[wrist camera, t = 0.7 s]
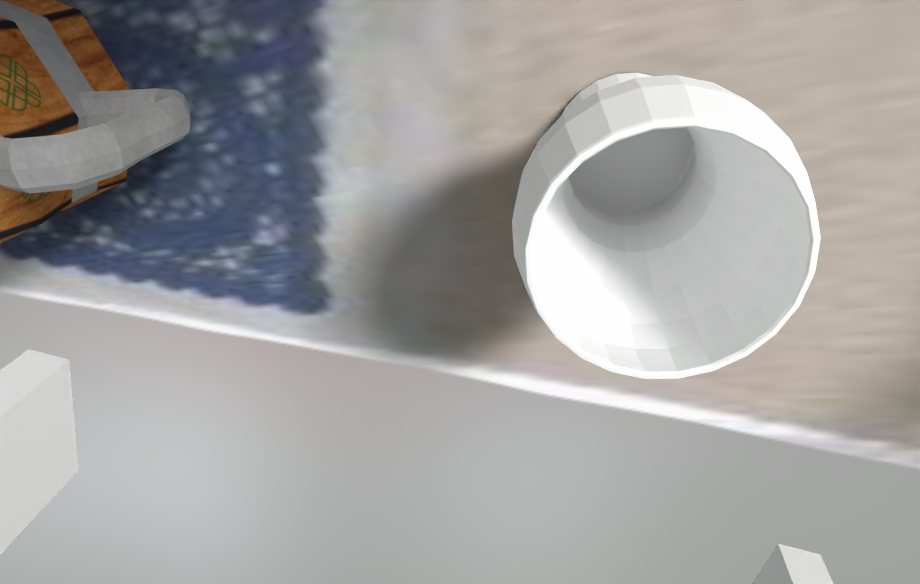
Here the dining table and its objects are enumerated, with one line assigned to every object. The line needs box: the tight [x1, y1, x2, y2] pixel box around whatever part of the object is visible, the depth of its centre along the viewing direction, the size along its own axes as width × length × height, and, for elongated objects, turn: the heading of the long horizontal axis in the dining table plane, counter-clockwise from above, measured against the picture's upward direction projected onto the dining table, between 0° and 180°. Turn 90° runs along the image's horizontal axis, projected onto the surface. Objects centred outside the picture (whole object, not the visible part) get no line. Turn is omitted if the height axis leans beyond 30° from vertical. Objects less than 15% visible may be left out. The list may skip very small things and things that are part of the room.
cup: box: [512, 73, 821, 379], centre depth 28 cm, size 11×11×15 cm
